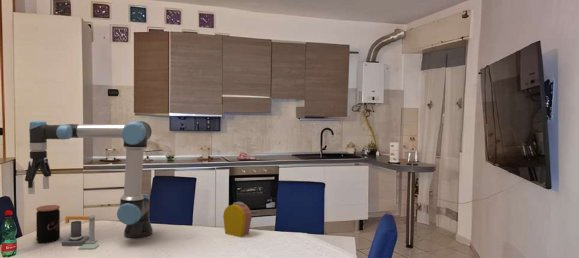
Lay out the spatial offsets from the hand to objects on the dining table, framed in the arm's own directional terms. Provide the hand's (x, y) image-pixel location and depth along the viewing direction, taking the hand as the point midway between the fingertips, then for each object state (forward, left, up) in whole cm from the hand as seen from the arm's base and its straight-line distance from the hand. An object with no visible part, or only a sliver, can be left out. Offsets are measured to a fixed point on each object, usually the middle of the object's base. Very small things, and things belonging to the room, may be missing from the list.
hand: (38, 191), depth 204 cm
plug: (-19, 0, -27) cm, 33 cm away
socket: (-21, 0, -27) cm, 35 cm away
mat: (-28, +8, -27) cm, 40 cm away
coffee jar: (-3, -4, -28) cm, 28 cm away
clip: (-21, 0, -17) cm, 27 cm away
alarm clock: (-103, -14, -28) cm, 107 cm away
